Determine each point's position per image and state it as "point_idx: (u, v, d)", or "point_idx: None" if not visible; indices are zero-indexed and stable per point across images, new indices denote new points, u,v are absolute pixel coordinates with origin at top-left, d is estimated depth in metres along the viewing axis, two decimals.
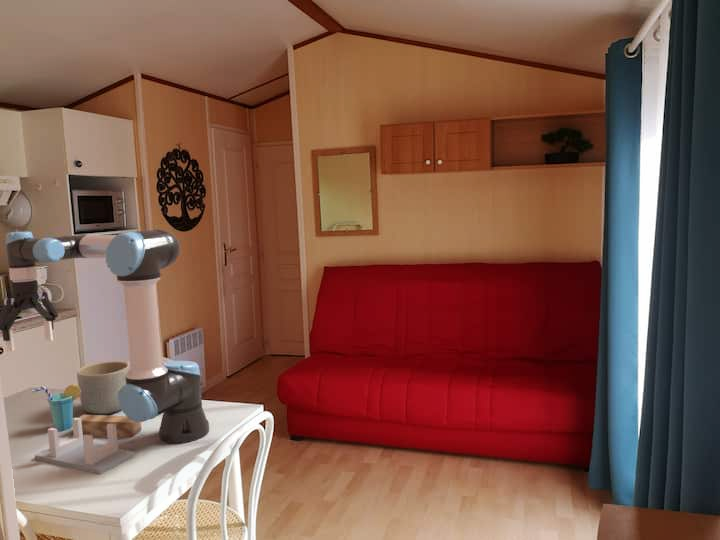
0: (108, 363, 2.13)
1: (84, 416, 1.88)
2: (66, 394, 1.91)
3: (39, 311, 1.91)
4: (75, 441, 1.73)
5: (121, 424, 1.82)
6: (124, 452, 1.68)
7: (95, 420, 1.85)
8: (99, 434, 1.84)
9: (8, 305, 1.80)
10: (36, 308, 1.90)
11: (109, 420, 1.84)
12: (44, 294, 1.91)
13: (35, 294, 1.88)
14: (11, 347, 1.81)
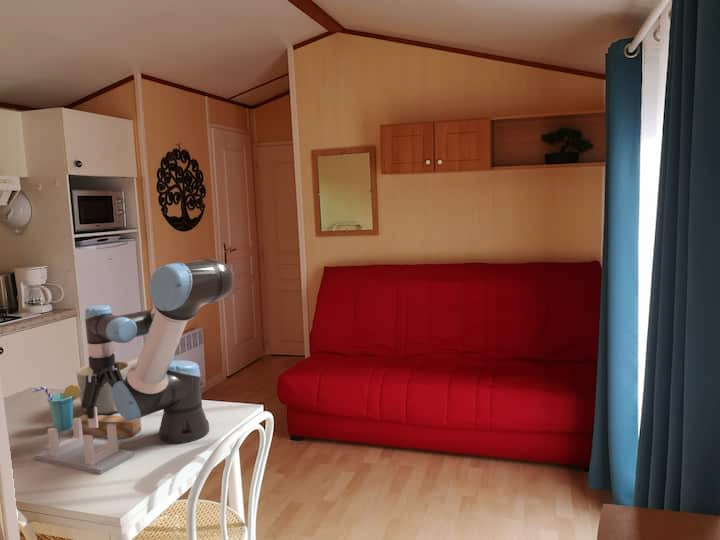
0: None
1: (84, 416, 1.88)
2: (66, 394, 1.91)
3: (111, 383, 1.89)
4: (75, 441, 1.73)
5: (121, 424, 1.82)
6: (124, 452, 1.68)
7: None
8: (99, 434, 1.84)
9: (93, 382, 1.77)
10: (109, 380, 1.88)
11: (109, 420, 1.84)
12: (116, 365, 1.90)
13: (110, 367, 1.86)
14: (95, 424, 1.79)
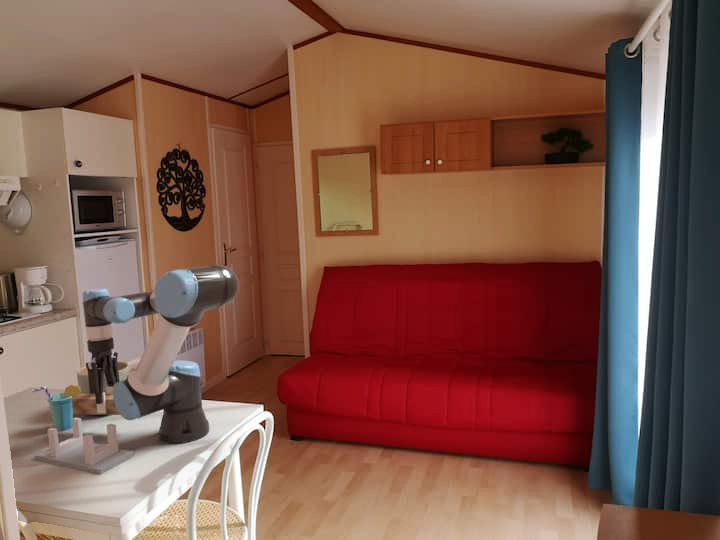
0: None
1: (82, 395, 1.87)
2: (66, 394, 1.91)
3: (107, 372, 1.86)
4: (75, 441, 1.73)
5: None
6: (124, 452, 1.68)
7: (93, 398, 1.83)
8: None
9: (94, 369, 1.77)
10: (106, 368, 1.85)
11: (107, 398, 1.83)
12: (115, 354, 1.89)
13: (110, 350, 1.86)
14: (104, 409, 1.82)
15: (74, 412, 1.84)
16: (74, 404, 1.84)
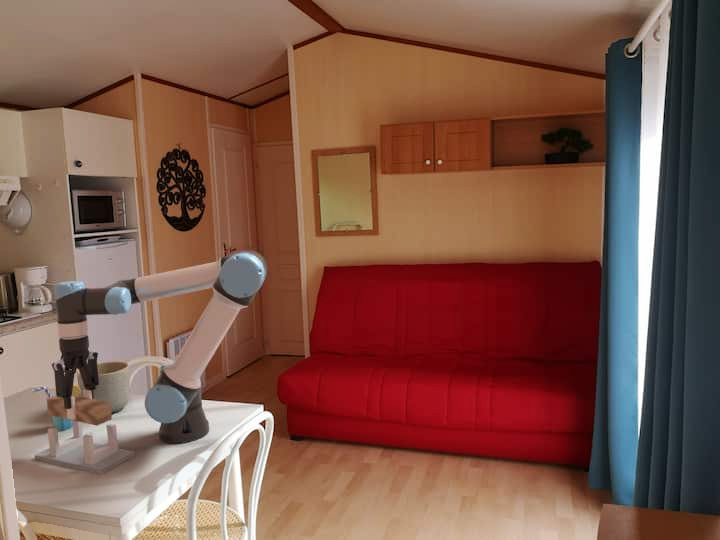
0: (108, 363, 2.13)
1: None
2: None
3: (83, 374, 1.68)
4: (75, 441, 1.73)
5: (86, 408, 1.62)
6: (124, 452, 1.68)
7: None
8: None
9: (60, 371, 1.60)
10: (81, 370, 1.67)
11: (78, 402, 1.65)
12: (95, 354, 1.70)
13: (86, 350, 1.67)
14: (73, 415, 1.64)
15: (49, 413, 1.69)
16: (49, 405, 1.69)
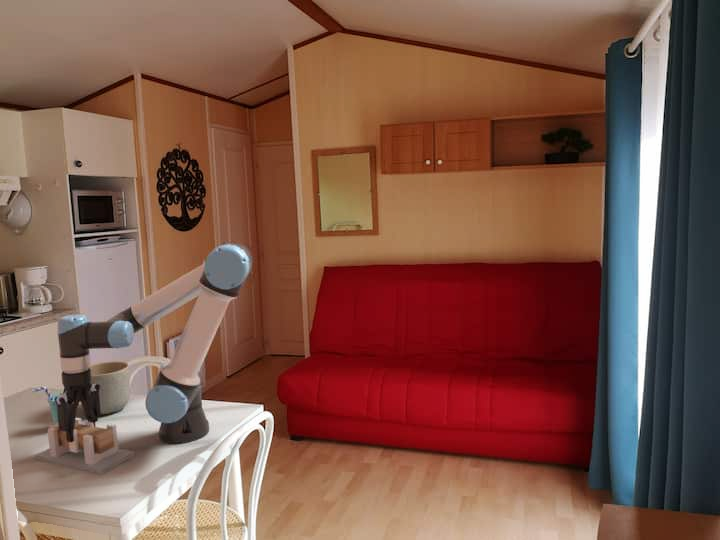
0: (108, 363, 2.13)
1: None
2: None
3: (85, 407, 1.69)
4: None
5: None
6: (124, 452, 1.68)
7: None
8: None
9: (63, 405, 1.61)
10: (84, 402, 1.68)
11: (80, 431, 1.66)
12: (97, 386, 1.71)
13: (89, 383, 1.68)
14: (75, 448, 1.65)
15: None
16: None
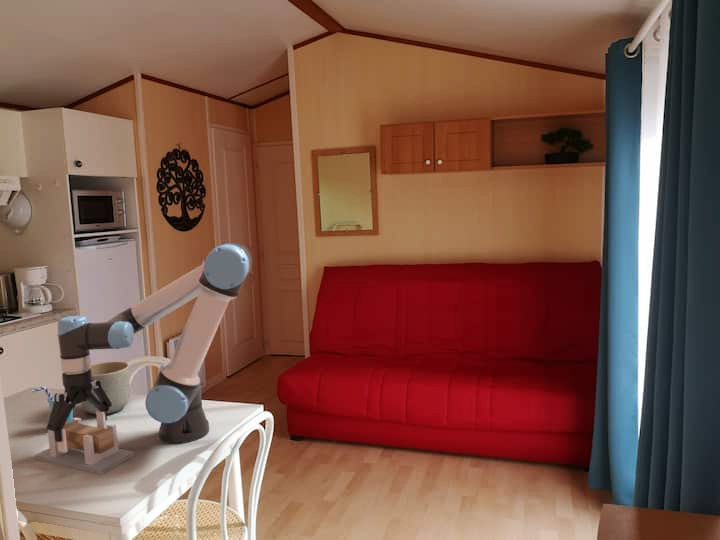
0: (108, 363, 2.13)
1: None
2: None
3: (92, 402, 1.71)
4: None
5: None
6: (124, 452, 1.68)
7: (67, 429, 1.67)
8: (70, 445, 1.67)
9: (61, 402, 1.60)
10: (89, 399, 1.70)
11: (80, 431, 1.66)
12: (98, 383, 1.71)
13: (88, 385, 1.68)
14: (64, 448, 1.61)
15: None
16: None
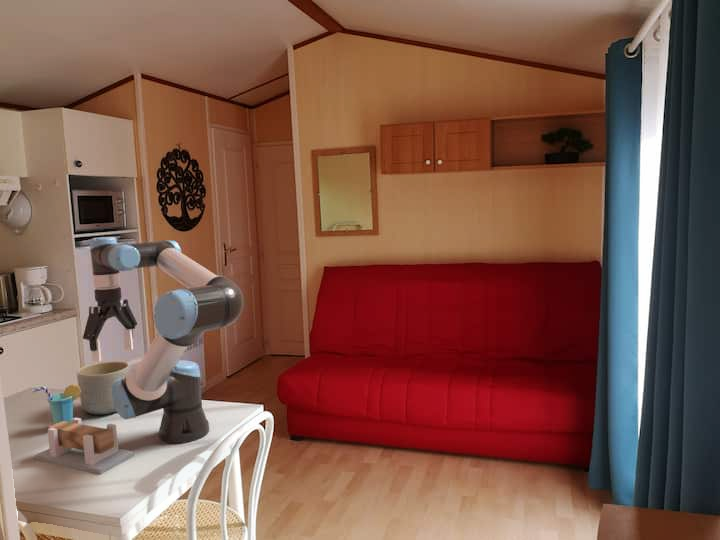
0: (108, 363, 2.13)
1: (62, 423, 1.72)
2: (66, 394, 1.91)
3: (120, 319, 1.84)
4: None
5: None
6: (124, 452, 1.68)
7: (67, 429, 1.67)
8: (70, 445, 1.67)
9: (95, 313, 1.73)
10: (118, 316, 1.83)
11: (80, 431, 1.66)
12: (125, 301, 1.85)
13: (118, 302, 1.82)
14: (98, 357, 1.74)
15: None
16: None
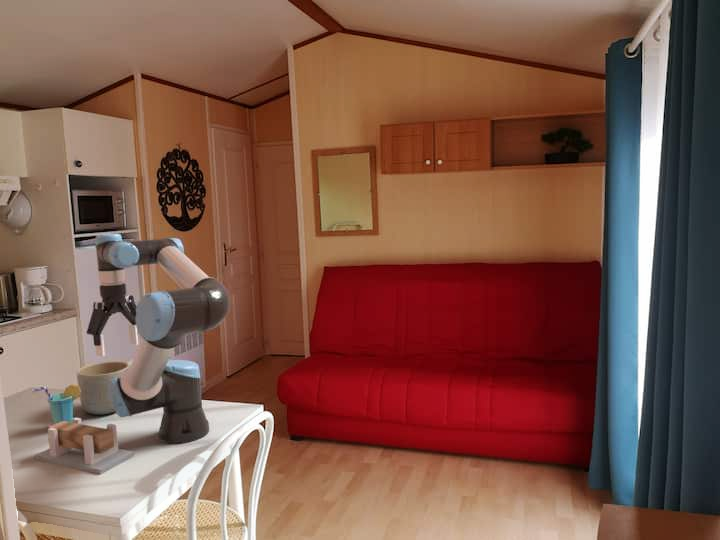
0: (108, 363, 2.13)
1: (62, 423, 1.72)
2: (66, 394, 1.91)
3: (126, 315, 1.87)
4: None
5: None
6: (124, 452, 1.68)
7: (67, 429, 1.67)
8: (70, 445, 1.67)
9: (99, 309, 1.76)
10: (123, 312, 1.86)
11: (80, 431, 1.66)
12: (131, 297, 1.87)
13: (123, 297, 1.84)
14: (102, 352, 1.77)
15: None
16: None
